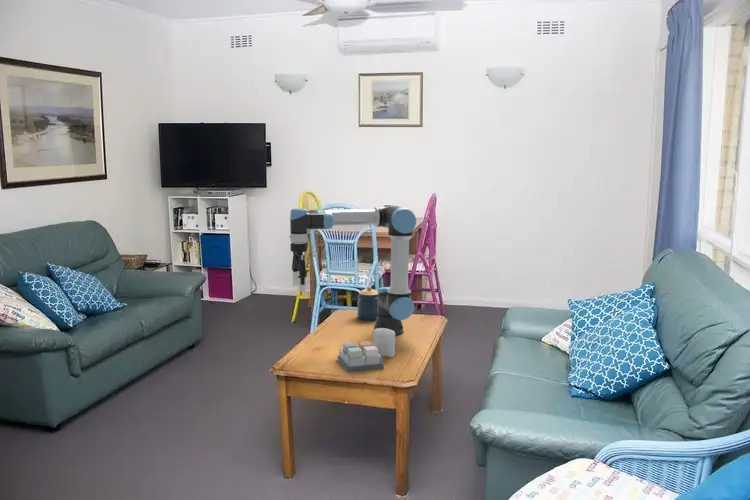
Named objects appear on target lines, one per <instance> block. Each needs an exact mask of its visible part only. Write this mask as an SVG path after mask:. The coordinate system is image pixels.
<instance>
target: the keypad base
mask: <svg viewBox="0 0 750 500" xmlns="http://www.w3.org/2000/svg"><path fill="white" fill-rule="evenodd" d="M338 350H339V351H338V355H337V356H336V357H337V358H336V359H337V362H338V363H339V364H340V365H341V366H342V368H343V369H344V370H345V371H346V372H347V373H354V372H361V371H363V372H364V371H373V370H380V369H381V370H383V369H385V363H384V362H383V356H381V355H380V354H379V353H378V356H376V357H366V356H365V355H363V352H362V358H355V359H350V358H349V357H348V354H345V353H344V351H343V348H342V349H341V348H340V349H338Z"/></svg>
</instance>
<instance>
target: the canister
mask: <svg viewBox="0 0 750 500" xmlns="http://www.w3.org/2000/svg"><path fill="white" fill-rule="evenodd" d="M377 294H378V289H374V288H372V286H367V287H366V288H364V289H362V290H360V291H359V292H358V295H357V296H356V297H357V300H358V301H357V313H356V314H357V318H358V319H359V320H363V321H376V319H377V306H378V295H377Z"/></svg>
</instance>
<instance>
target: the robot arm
mask: <svg viewBox="0 0 750 500" xmlns="http://www.w3.org/2000/svg"><path fill="white" fill-rule="evenodd" d="M289 220H290V221H289V223H290V225H289V226H290V229H289V230H290V235H289V238H290V242H291V243H290V246H289V247H290V249H289V250H290V252H292V253H293V254H292V264H291V270H292V286H294V287H295V286H296V287H297V286H298V292H299V293H304V292H306V277H308V276H307V275H308V274H307V268H306V256H305V254H304V253H305V252H307V251H308V243H307V242H308V230H329V229H333V227H334V226H370V225H371V226H372V225H373V226H374V227H378V228H379V227H381V228H387V231H388V232H387V236H388V237H389V238H390V239H391V240H390V241H391V243H390V282H389V283H390V285H389V286H383V287H379V288H378V289H377V291H378V294H377V295H378V306H377V319H376V320H375V323H374V325H373V331H374V330H375V329H377V328H387V329H390V330H393V331H394V332H395V336H397V335H401V334H403V333H404V325H403V322H402V321H404V320H407V319H408V318H409V319H410V317H411V316H412V314H413V313H414V310H415V304H414V302H413V300H412V291H411V289H409V260H410V259H409V258H410V239H411V238H412V237H413V233H414V232H413V230H414V229H415V228H416V225H417V217H416V215H415V213H414V212H413V211H412V210H411V209H409V208H407V207H405V206H399V205H388V206H377V207H376V206H375V207H374V208H372V209H369V208H367V209H366V208H365V209H324V210H323V209H318V210H317V209H309V210H308V209H307V208H292V209H291V210H290V217H289Z"/></svg>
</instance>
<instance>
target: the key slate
mask: <svg viewBox="0 0 750 500" xmlns="http://www.w3.org/2000/svg"><path fill="white" fill-rule="evenodd" d="M355 347H358V345H357V343H355V342H346V343H345V342H344V343H343V344H342V349H343V351H344V353H345V354H348V348H355Z"/></svg>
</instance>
